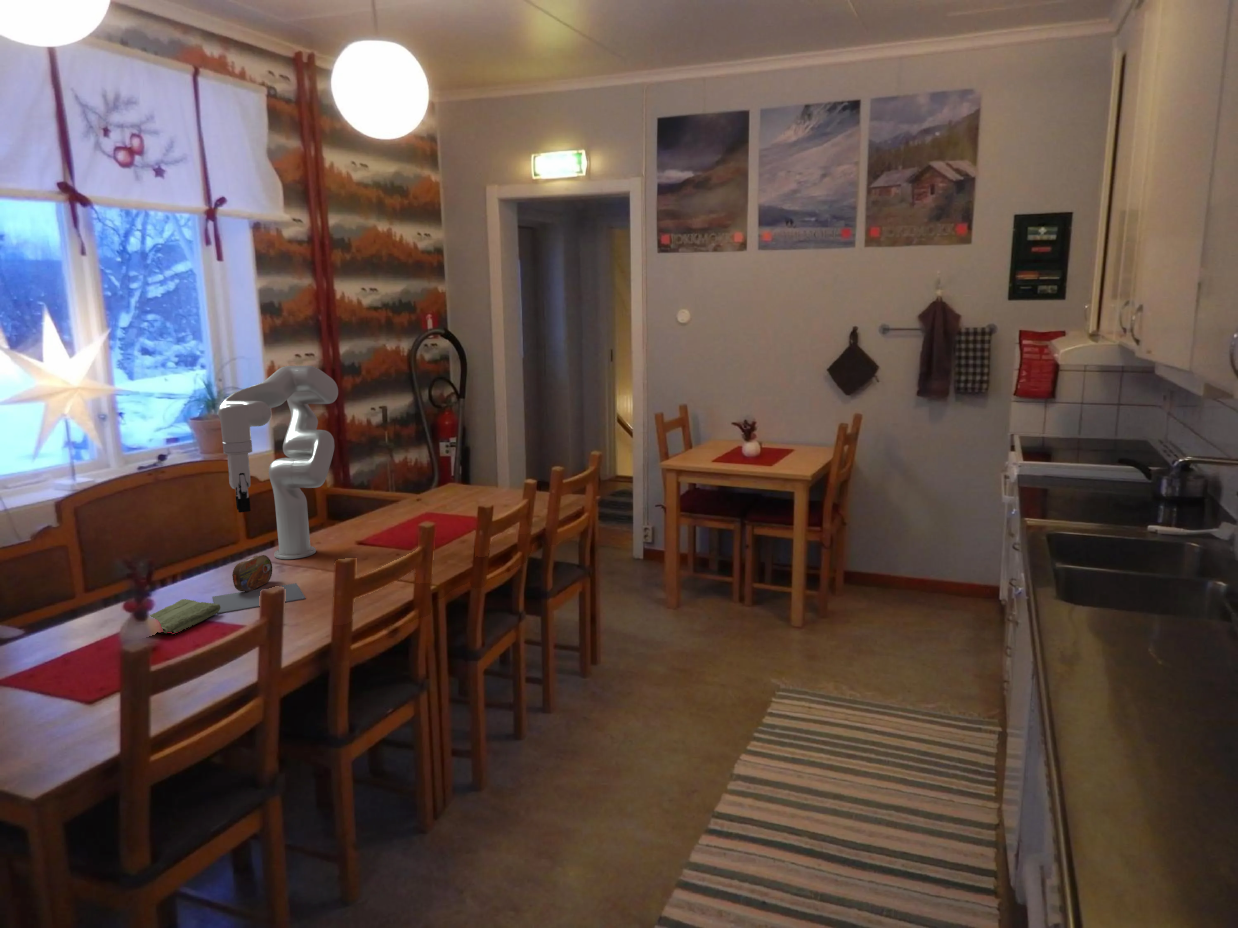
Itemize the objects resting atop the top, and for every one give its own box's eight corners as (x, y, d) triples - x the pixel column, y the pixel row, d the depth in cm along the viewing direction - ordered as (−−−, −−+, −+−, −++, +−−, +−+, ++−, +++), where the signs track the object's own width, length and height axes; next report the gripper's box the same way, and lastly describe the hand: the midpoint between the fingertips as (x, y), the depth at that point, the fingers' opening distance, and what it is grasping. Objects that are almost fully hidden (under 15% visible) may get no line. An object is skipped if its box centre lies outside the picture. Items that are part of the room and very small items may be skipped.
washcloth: (129, 632, 208) (127, 620, 207) (185, 607, 224) (184, 596, 224) (170, 638, 204) (169, 625, 203) (225, 612, 220) (224, 600, 220)
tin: (242, 595, 233) (239, 565, 232) (231, 594, 234) (228, 565, 233) (274, 579, 248) (271, 551, 247) (264, 579, 248) (262, 551, 247)
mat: (212, 597, 233) (212, 596, 233) (296, 584, 244) (296, 583, 244) (217, 613, 220) (217, 612, 220) (305, 598, 231) (305, 597, 231)
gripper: (220, 445, 246) (226, 506, 249) (226, 452, 232) (232, 517, 235) (248, 442, 250) (254, 503, 253) (255, 450, 236) (261, 514, 239)
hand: (243, 509), depth 244 cm, fingers open, 3 cm apart
